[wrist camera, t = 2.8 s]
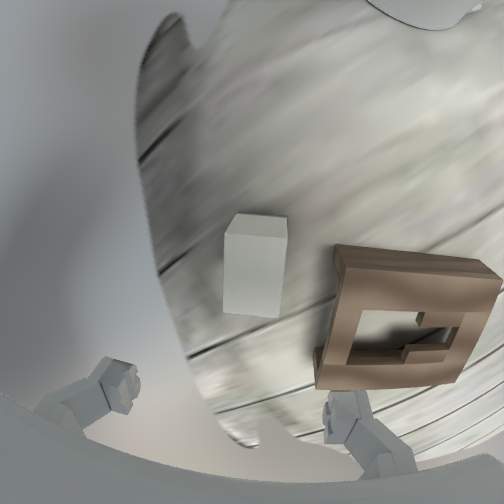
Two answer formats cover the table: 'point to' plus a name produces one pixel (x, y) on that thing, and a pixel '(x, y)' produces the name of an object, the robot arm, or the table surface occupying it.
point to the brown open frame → (404, 299)
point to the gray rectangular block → (254, 264)
